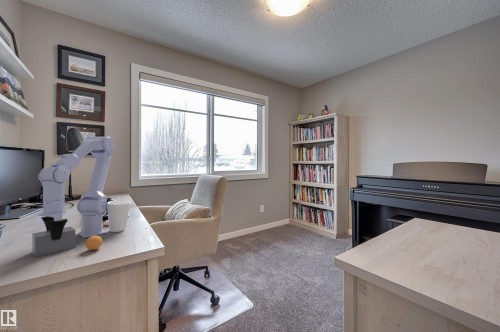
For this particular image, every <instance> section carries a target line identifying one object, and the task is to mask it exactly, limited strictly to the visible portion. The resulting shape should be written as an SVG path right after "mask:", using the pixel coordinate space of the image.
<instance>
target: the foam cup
mask: <svg viewBox="0 0 500 332" xmlns="http://www.w3.org/2000/svg"><path fill="white" fill-rule="evenodd" d="M131 206H132V202H131V201H130V200H124V199H123V200H120V199H119V200H117V199H116V200H110V201H108V202H107V208H106V209H107V217H108V218H107V219H108V230H109V232H111V233H119V232H124V231H126V228H127V222H128V219H129V214H130V210H131Z"/></svg>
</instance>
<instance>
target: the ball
mask: <svg viewBox="0 0 500 332" xmlns="http://www.w3.org/2000/svg"><path fill="white" fill-rule="evenodd" d="M102 244H103V239H102V237H101V236H99V235H95V236H90V237H87V239H86V241H85V244H84V246H85V248H86V249H88V250H89V251H96V250H97V249H100V248H101V246H102Z"/></svg>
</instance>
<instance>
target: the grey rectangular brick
mask: <svg viewBox="0 0 500 332" xmlns="http://www.w3.org/2000/svg"><path fill="white" fill-rule="evenodd" d="M31 236H32V239H31V242H32V244H31V245H32V247H31V248H32V254H33V256H34V258H38V257H42V256H45V255H50V254H55V253H59V252H63V251H66V250H70V249H74V248H76V229H75V228H74V227H72V226H67V227H66V226H65V227H64V228H63V232H62V236H61V239H59V240H54V241H53V240H52V238H51V234H50V230H49V231H47V230H44V231H39V232H34V233H32V235H31Z"/></svg>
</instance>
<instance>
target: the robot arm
mask: <svg viewBox="0 0 500 332" xmlns="http://www.w3.org/2000/svg"><path fill="white" fill-rule="evenodd" d="M114 147H115V143H114V141H113V139H112V138H111V136H86V137H85V138H84V139H82V143H81V144H80V145H79V146H78V147H77V148H76V149H75V150H74V151H72V153H65V154H64V153H63V154H62V155H61V157H60V158H59V159H58V160H56V161H55V162H53V163H52V164H51V165H50V166H46V167H43V168H42V169H41V170H40V171H39V174H37V178H38V180H39V181H40V183H41V186H42V209H43V211H42V212H40V213H38V214H37V216H38V217H40V219H41V220H42V221H43V223H44V225H45V229H46V230H45V231H49V230H50V234H51V238H52V240H53V241H54V240H59V239H61V236H62V232H63V228H65V227H66V224H67V223H68V220H69V219H68V218H63V216H64V215H65V214H66V209H65V205H66V203H65V202H66V199H65V193H66V192H65V191H66V189H65V188H66V187H65V183H66V182H67V181H68V180H69V179H70V175H71V173H72V172H73V171H74V169H76V168H77V167H78V166H80V165H81V160H82V159H83V158H84V157H86V156H87V155H88V154H91V155H92V156H93V157H95V158H96V159H95V164H94V167H93V171H92V175H91V179H90V182H89V187H88V189H87V191H86V192H85V193H83V194H81V197H80V199H79V200H78V202H77V204H76V209H77V210H76V211H78V213H80V214H79V215H81V218H80V231H78V232H77V234H78V235H79V236H81V237H82V238H90V237H91V236H99V235H103V234H106V231H105V230H103V214H105V211H106V210H107V209H108V208H107V201H108V197H107V195H106V194H104V193H103V192H104V188H105V183H106V180H107V176H108V172H109V167H110V164H111V159H112V155H113V151H114V149H115V148H114Z"/></svg>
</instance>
